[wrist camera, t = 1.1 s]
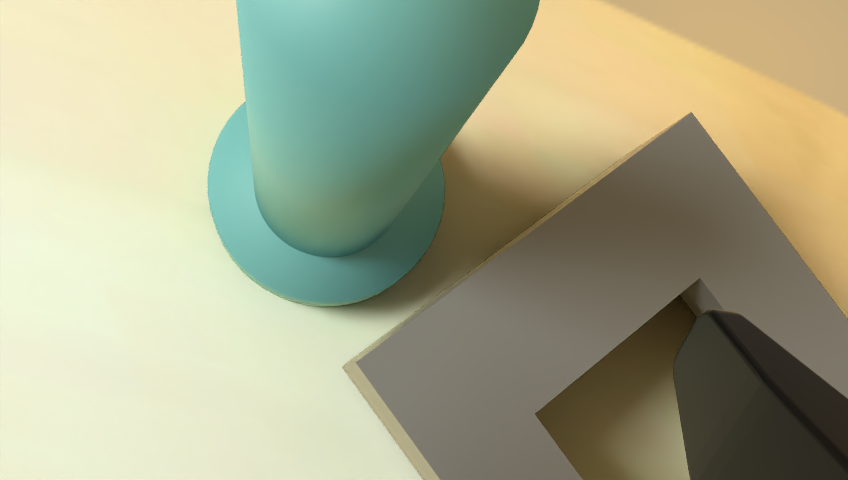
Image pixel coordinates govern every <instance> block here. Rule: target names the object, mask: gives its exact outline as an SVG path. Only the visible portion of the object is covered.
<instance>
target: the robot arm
mask: <svg viewBox="0 0 848 480" xmlns="http://www.w3.org/2000/svg"><path fill="white" fill-rule="evenodd" d="M673 376H674V383H675V389H676V396H677V402H678V408H679V414H680V420H681V426H682V433H683V439H684V445H685V451H686V457H687V463H688V470H689V475H690V480H848V398H846V397H845V396H844V395H843V394H841V393H840V392H839V391H838V390H836V389H835V388H834V387H833V386H831V385H830V384H829V383H827V382H826V381H825V380H824V379H822V378H821V377H820V376H819V375H817V374H816V373H815V372H814V371H812V370H811V369H810V368H808V367H807V366H806V365H805V364H803V363H802V362H801V361H800V360H798V359H797V358H796V357H795V356H793V355H792V354H791V353H789V352H788V351H787V350H786V349H784V348H783V347H782V346H781V345H779V344H778V343H777V342H776V341H774V340H773V339H772V338H770V337H769V336H768V335H767V334H765V333H764V332H763V331H762V330H760V329H759V328H758V327H757V326H755V325H754V324H753V323H751V322H750V321H749V320H748V319H746V318H745V317H744V316H742V315H741V314H739V313H736V312H731V311H724V310H716V309H707V310H704V311H703V312H702V313H700V314H699V316H698V317H697V319H696V321H695V323H694V324H693V326H692V328H691V330H690V332H689V333H688V335H687V337H686V339H685V341H684V343H683V344H682V346H681V348H680V350H679V352H678V353H677V356H676V358H675V362H674V367H673Z"/></svg>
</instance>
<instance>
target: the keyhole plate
mask: <svg viewBox="0 0 848 480" xmlns="http://www.w3.org/2000/svg"><path fill="white" fill-rule="evenodd" d="M678 295H681V297H682V298H683V299H684V301H685V302H686V303H687V305H688V306H689V308H690V309H691V310H692V312H693V313H694V314H695V316H696V317H698V316H699V314H700V313H702V312H703V311H704V310H707V309H716V310H724V311H731V312H736V313H739V314H741V315H742V316H744V317H745V318H746V319H748V320H749V321H750V322H751V323H753V324H754V325H755V326H757V327H758V328H759V329H760V330H762V331H763V332H764V333H765V334H767V335H768V336H769V337H770V338H772V339H773V340H774V341H776V342H777V343H778V344H779V345H781V346H782V347H783V348H784V349H786V350H787V351H788V352H789V353H791V354H792V355H793V356H795V357H796V358H797V359H798V360H800V361H801V362H802V363H803V364H805V365H806V366H807V367H808V368H810V369H811V370H812V371H814V372H815V373H816V374H817V375H819V376H820V377H821V378H822V379H824V380H825V381H826V382H827V383H829V384H830V385H831V386H833V387H834V388H835V389H836V390H838V391H839V392H840V393H841V394H843V395H844V396H845V397H846V398H848V319H847V318H846V317H845V315H844V314H843V313H842V311H841V310H840V309H839V307H838V306H837V305H836V303H835V302H834V301H833V299H832V298H831V297H830V295H829V294H828V293H827V291H826V290H825V289H824V287H823V286H822V285H821V283H820V282H819V281H818V279H817V278H816V277H815V275H814V274H813V273H812V271H811V270H810V269H809V267H808V266H807V265H806V263H805V262H804V261H803V259H802V258H801V257H800V255H799V254H798V253H797V251H796V250H795V249H794V247H793V246H792V245H791V243H790V242H789V241H788V239H787V238H786V237H785V236H784V234H783V233H782V232H781V230H780V229H779V228H778V226H777V225H776V224H775V222H774V221H773V220H772V218H771V217H770V216H769V214H768V213H767V212H766V210H765V209H764V208H763V206H762V205H761V204H760V202H759V201H758V200H757V198H756V197H755V196H754V194H753V193H752V192H751V190H750V189H749V188H748V186H747V185H746V184H745V182H744V181H743V180H742V178H741V177H740V176H739V174H738V173H737V172H736V170H735V169H734V168H733V166H732V165H731V164H730V162H729V161H728V160H727V158H726V157H725V156H724V155H723V153H722V152H721V151H720V149H719V148H718V147H717V145H716V144H715V143H714V141H713V140H712V139H711V137H710V136H709V135H708V133H707V132H706V131H705V129H704V128H703V127H702V125H701V124H700V123H699V121H698V120H697V119H696V117H695V116H694V115H693V113H692V112H691V113H689V114H688V115H686V116H685V117H683V118H682V119H680V120H679V121H677V122H675V123H674V124H672V125H671V126H669V127H668V128H666V129H665V130H663V131H662V132H660V133H659V134H657V135H656V136H654V137H653V138H651V139H650V140H648V141H647V142H645V143H644V144H642V145H640V146H639V147H637V148H636V149H634V150H633V151H631V152H630V153H628V154H627V155H626V156H624V157H623V158H622V159H620V160H619V161H618V162H616V163H615V164H614V165H612V166H611V167H610V168H608V169H607V170H606V171H604V172H603V173H602V174H600V175H599V176H597V177H596V178H595V179H593V180H592V181H591V182H589V183H588V184H587V185H585V186H584V187H583V188H581V189H580V190H579V191H577V192H576V193H575V194H573V195H572V196H571V197H569V198H568V199H567V200H565V201H564V202H563V203H561V204H560V205H559V206H557V207H556V208H554V209H553V210H552V211H550V212H549V213H548V214H546V215H545V216H544V217H542V218H541V219H540V220H538V221H537V222H536V223H534V224H533V225H532V226H530V227H529V228H528V229H526V230H525V231H524V232H522V233H521V234H520V235H518V236H517V237H515V238H514V239H513V240H511V241H510V242H509V243H507V244H506V245H505V246H503V247H502V248H501V249H499V250H498V251H497V252H495V253H494V254H493V255H491V256H490V257H489V258H487V259H486V260H485V261H483V262H482V263H481V264H479V265H478V266H476V267H475V268H474V269H472V270H471V271H470V272H468V273H467V274H466V275H464V276H463V277H462V278H460V279H459V280H458V281H456V282H455V283H454V284H452V285H451V286H450V287H448V288H447V289H446V290H444V291H443V292H442V293H440V294H439V295H438V296H436V297H435V298H433V299H432V300H431V301H429V302H428V303H427V304H425V305H424V306H423V307H421V308H420V309H419V310H417V311H416V312H415V313H413V314H412V315H411V316H409V317H408V318H407V319H405V320H404V321H403V322H401V323H400V324H399V325H397V326H396V327H394V328H393V329H392V330H390V331H389V332H388V333H386V334H385V335H384V336H382V337H381V338H380V339H378V340H377V341H376V342H374V343H373V344H372V345H370V346H369V347H368V348H366V349H365V350H364V351H362V352H361V353H360V354H358V355H357V356H355V357H354V358H353V359H351V360H350V361H349V362H347V363H346V364H345V365H343V366H342V368H343V369H344V370H345V372H346V373H347V375H348V376H349V377H350V379H351V380H352V382H353V383H354V384H355V386H356V387H357V389H358V390H359V391H360V393H361V394H362V395H363V397H364V398H365V400H366V401H367V402H368V404H369V405H370V407H371V408H372V409H373V411H374V412H375V413H376V415H377V416H378V418H379V419H380V420H381V422H382V423H383V425H384V426H385V427H386V429H387V430H388V431H389V433H390V434H391V436H392V437H393V438H394V440H395V441H396V443H397V444H398V445H399V447H400V448H401V449H402V451H403V452H404V454H405V455H406V456H407V458H408V459H409V461H410V462H411V463H412V465H413V466H414V467H415V469H416V470H417V472H418V473H419V474H420V476H421V477H422V479H423V480H583V479H582V478H581V477H580V475H579V474H578V473H577V471H576V470H575V468H574V467H573V466H572V464H571V463H570V462H569V460H568V459H567V457H566V456H565V455H564V453H563V452H562V451H561V449H560V448H559V447H558V445H557V444H556V442H555V441H554V440H553V438H552V437H551V436H550V434H549V433H548V431H547V430H546V429H545V427H544V426H543V425H542V423H541V422H540V421H539V419H538V418H537V416H536V415H535V413H537V412H538V411H539V410H540V409H541V408H543V407H544V406H545V405H546V404H547V403H549V402H550V401H551V400H552V399H554V398H555V397H556V396H557V395H558V394H560V393H561V392H562V391H563V390H564V389H566V388H567V387H568V386H569V385H570V384H572V383H573V382H574V381H575V380H577V379H578V378H579V377H580V376H581V375H583V374H584V373H585V372H586V371H587V370H589V369H590V368H591V367H592V366H594V365H595V364H596V363H597V362H598V361H600V360H601V359H602V358H603V357H604V356H606V355H607V354H608V353H609V352H610V351H612V350H613V349H614V348H615V347H617V346H618V345H619V344H620V343H621V342H623V341H624V340H625V339H626V338H627V337H629V336H630V335H631V334H632V333H634V332H635V331H636V330H637V329H638V328H640V327H641V326H642V325H643V324H644V323H646V322H647V321H648V320H649V319H650V318H652V317H653V316H654V315H655V314H657V313H658V312H659V311H660V310H661V309H663V308H664V307H665V306H666V305H667V304H669V303H670V302H671V301H672V300H674V299H675V298H676V297H677V296H678Z"/></svg>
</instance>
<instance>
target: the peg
mask: <svg viewBox="0 0 848 480" xmlns="http://www.w3.org/2000/svg"><path fill="white" fill-rule="evenodd" d="M539 1H540V0H236V4H237V14H238V25H239V35H240V45H241V56H242V66H243V77H244V87H245V98H246V102H245V103H244V104H242V105H241V106H240V107H239V108H238V109H237V110H236V112H235V113H234V114H233V115H232V116H231V118H230V119H229V120H228V121H227V123H226V125H225V126H224V128H223V130H222V131H221V133H220V135H219V137H218V139H217V142H216V144H215V146H214V149H213V153H212V156H211V160H210V165H209V172H208V197H209V204H210V210H211V213H212V217H213V220H214V223H215V226H216V229H217V232H218V234H219V236H220V239H221V241H222V243H223V245H224V247H225V249H226V250H227V252H228V253H229V255H230V257H231V258H232V260H233V261H234V262H235V263H236V264H237V266H238V267H239V268H240V269H241V270H242V271H243V272H244V273H245V274H246V275H247V276H248V277H249V278H250V279H251V280H252V281H254V282H255V283H257V284H258V285H260V286H261V287H262V288H264V289H265V290H267V291H269V292H271V293H273V294H275V295H277V296H279V297H281V298H284V299H287V300H290V301H292V302H296V303H301V304H305V305H312V306H341V305H346V304H352V303H356V302H359V301H362V300H366V299H368V298H370V297H372V296H375V295H377V294H379V293H381V292H382V291H384V290H386V289H387V288H389V287H390V286H392V285H393V284H395V283H396V282H397V281H398V280H399V279H401V278H402V277H403V276H404V275H405V274H406V273H408V272H409V271H410V270H411V269H412V268H413V267H414V266H415V265H416V264H417V262H418V261H419V260H420V259H421V258H422V256H423V255H424V253H425V252H426V251H427V249H428V248H429V246H430V244H431V242H432V240H433V238H434V236H435V234H436V232H437V229H438V226H439V223H440V220H441V216H442V211H443V206H444V194H445V187H444V175H443V169H442V164H441V160H440V157H441V156H442V154H443V153H444V152H445V150H446V149H447V147H448V146H449V145H450V143H451V142H452V141H453V139H454V138H455V136H456V135H457V134H458V132H459V131H460V130H461V128H462V127H463V125H464V124H465V123H466V121H467V120H468V119H469V117H470V116H471V114H472V113H473V112H474V110H475V109H476V108H477V106H478V105H479V103H480V102H481V101H482V99H483V98H484V97H485V95H486V94H487V92H488V91H489V90H490V88H491V87H492V86H493V84H494V83H495V81H496V80H497V79H498V77H499V76H500V75H501V73H502V72H503V71H504V69H505V68H506V66H507V65H508V64H509V62H510V61H511V60H512V58H513V57H514V55H515V54H516V53H517V51H518V50H519V48H520V47H521V46H522V44H523V43H524V41H525V39H526V37H527V35H528V33H529V31H530V29H531V27H532V25H533V22H534V19H535V16H536V13H537V11H538V6H539Z"/></svg>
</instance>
